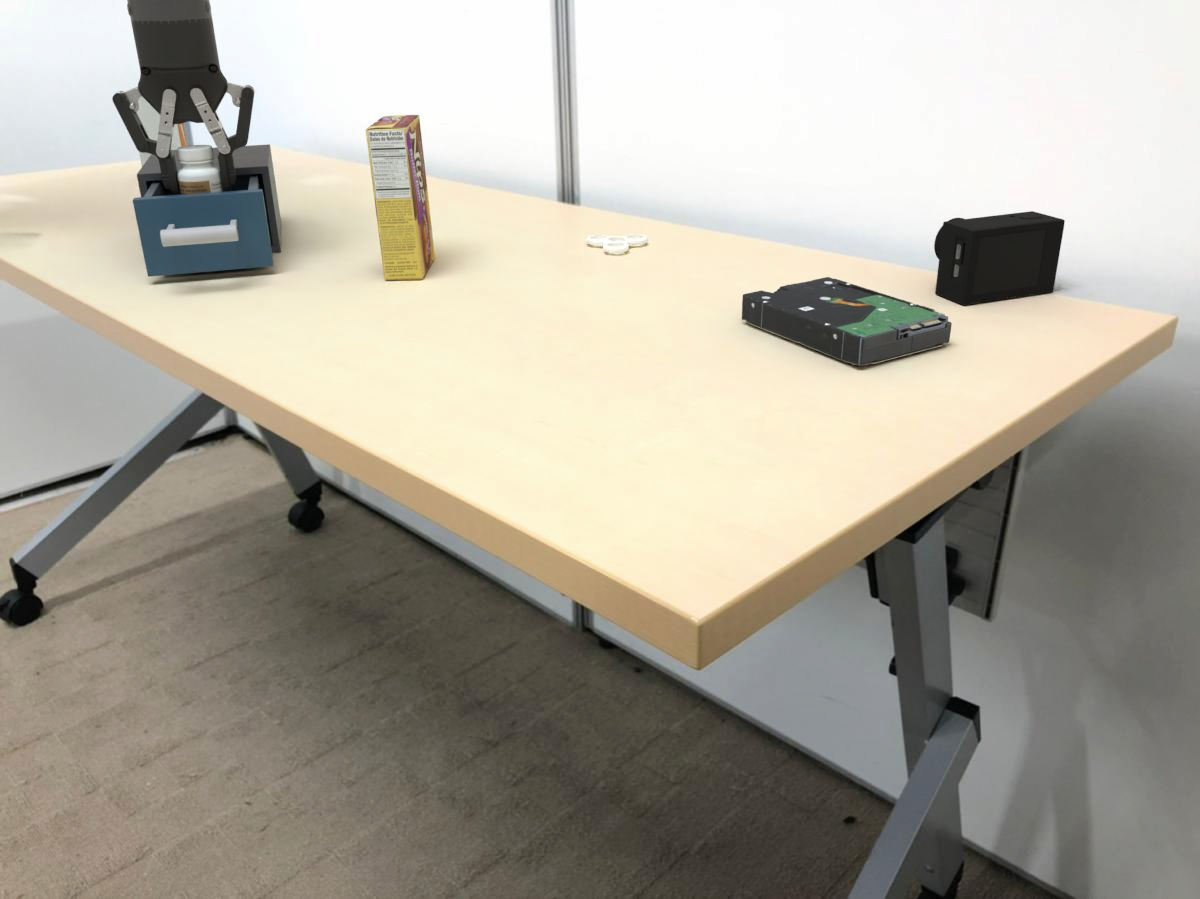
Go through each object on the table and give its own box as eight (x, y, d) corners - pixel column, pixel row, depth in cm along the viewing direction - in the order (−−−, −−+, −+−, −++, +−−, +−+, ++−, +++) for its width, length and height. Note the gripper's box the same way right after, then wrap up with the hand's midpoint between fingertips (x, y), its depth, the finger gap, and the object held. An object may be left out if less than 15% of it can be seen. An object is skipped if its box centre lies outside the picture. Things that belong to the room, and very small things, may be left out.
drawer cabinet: (280, 252, 121) (268, 165, 117) (153, 262, 117) (136, 174, 113) (281, 221, 135) (269, 144, 131) (168, 230, 132) (153, 151, 128)
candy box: (396, 259, 117) (382, 114, 110) (435, 258, 116) (423, 113, 110) (380, 281, 108) (364, 126, 102) (422, 280, 108) (408, 125, 102)
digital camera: (1014, 278, 105) (1024, 207, 102) (1054, 292, 100) (1066, 218, 97) (926, 291, 101) (934, 217, 98) (963, 306, 97) (973, 229, 94)
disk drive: (738, 325, 93) (860, 370, 82) (739, 294, 92) (863, 336, 81) (825, 304, 98) (952, 345, 87) (827, 275, 97) (956, 312, 86)
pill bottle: (176, 225, 111) (162, 150, 108) (200, 216, 115) (187, 143, 112) (214, 227, 110) (201, 150, 107) (237, 218, 114) (225, 144, 111)
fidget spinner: (581, 242, 121) (581, 235, 121) (631, 235, 124) (631, 228, 124) (610, 255, 116) (610, 248, 115) (661, 247, 118) (661, 240, 118)
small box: (188, 182, 162) (172, 93, 156) (144, 185, 160) (126, 95, 155) (193, 173, 169) (178, 87, 163) (151, 176, 167) (134, 89, 162)
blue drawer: (272, 280, 106) (261, 202, 103) (141, 291, 103) (124, 211, 100) (274, 234, 125) (264, 166, 122) (163, 242, 122) (149, 173, 119)
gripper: (248, 11, 109) (272, 180, 116) (98, 16, 106) (133, 189, 113) (246, 14, 102) (272, 193, 109) (86, 19, 99) (124, 203, 106)
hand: (201, 190), depth 111 cm, fingers closed on pill bottle, 4 cm apart
